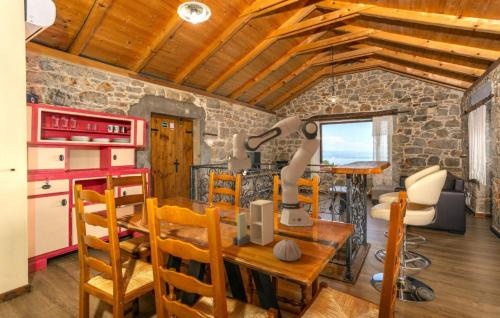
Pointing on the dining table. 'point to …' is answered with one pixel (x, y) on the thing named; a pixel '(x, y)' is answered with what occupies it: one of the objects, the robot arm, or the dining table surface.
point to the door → (241, 225)
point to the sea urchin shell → (287, 250)
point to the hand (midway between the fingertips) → (240, 176)
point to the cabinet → (259, 224)
